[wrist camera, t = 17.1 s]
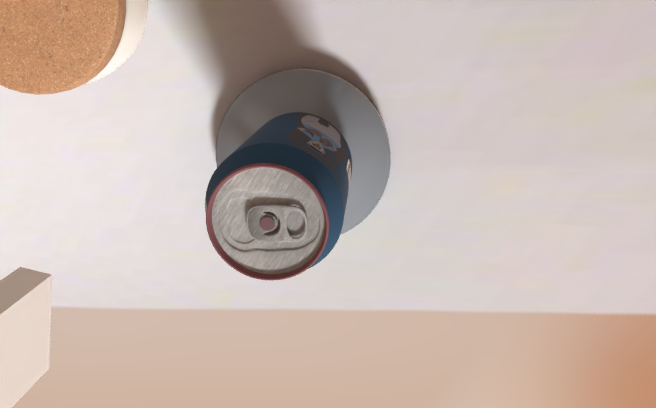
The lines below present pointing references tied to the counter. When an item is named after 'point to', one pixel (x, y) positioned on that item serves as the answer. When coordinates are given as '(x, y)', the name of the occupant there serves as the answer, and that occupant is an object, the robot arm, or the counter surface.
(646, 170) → the counter surface
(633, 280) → the counter surface
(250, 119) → the disc
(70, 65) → the lidded jar
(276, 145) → the soda can
